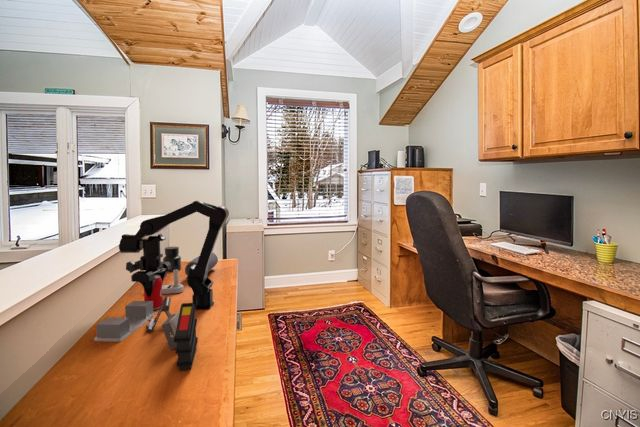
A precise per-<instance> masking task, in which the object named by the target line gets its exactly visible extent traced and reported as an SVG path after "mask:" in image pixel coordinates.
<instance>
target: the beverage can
mask: <svg viewBox="0 0 640 427" xmlns="http://www.w3.org/2000/svg"><path fill="white" fill-rule="evenodd" d="M153 278H156V280H155V284H154V287H153V291H152V294H151V296H150V297H148V296H147V294H146V292H145V290H144V289H143V298H144V300H143V301H153V311H154V310H159V309H160V307H161V305H162V303H163V300H164V298H163V297H164V294H163V291H162V285H163V283H162V279H161V277H160V275H154V277H153Z"/></svg>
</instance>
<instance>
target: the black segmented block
mask: <svg viewBox="0 0 640 427" xmlns="http://www.w3.org/2000/svg"><path fill="white" fill-rule="evenodd" d="M195 308H196V305H194V303H192V302H183V303H181V305H180V309H179V311H180V313H179V318H178V323H177V328H176V333H175V338H174V343H176V342H177V348H176V349H175V354H176V355H177V361H176V364H175V365H176V367H178V369H177V370H178V371H179V372H180V371H181V372H182V371H189V370H191V369H192V367H193V364H194V360H195V356H196V352H197V344H198V341H199V338H198V336H197V325H198V324H197V323H198V319H197V318H196V316H195V314H196V309H195Z"/></svg>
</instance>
